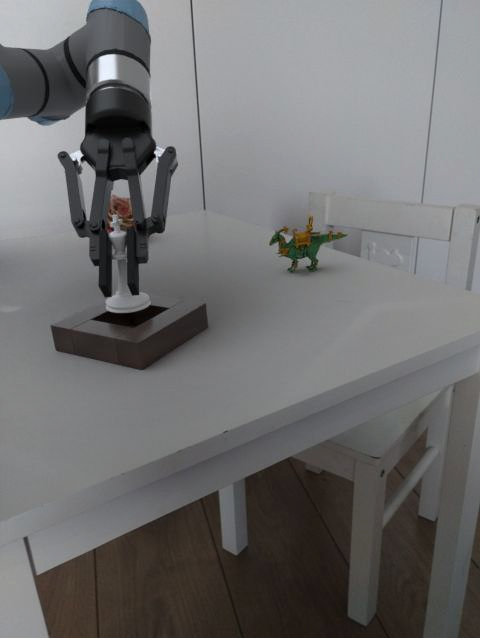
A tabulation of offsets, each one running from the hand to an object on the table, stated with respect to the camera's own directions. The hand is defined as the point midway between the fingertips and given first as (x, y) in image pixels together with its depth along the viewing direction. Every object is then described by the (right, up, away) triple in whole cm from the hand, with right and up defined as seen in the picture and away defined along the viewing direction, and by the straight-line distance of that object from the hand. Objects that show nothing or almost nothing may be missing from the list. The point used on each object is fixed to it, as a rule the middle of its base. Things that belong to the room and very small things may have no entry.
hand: (119, 290), depth 59 cm
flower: (-11, +14, +49) cm, 52 cm away
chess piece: (0, -1, +5) cm, 5 cm away
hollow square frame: (0, -5, +6) cm, 8 cm away
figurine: (+22, +6, +27) cm, 36 cm away
